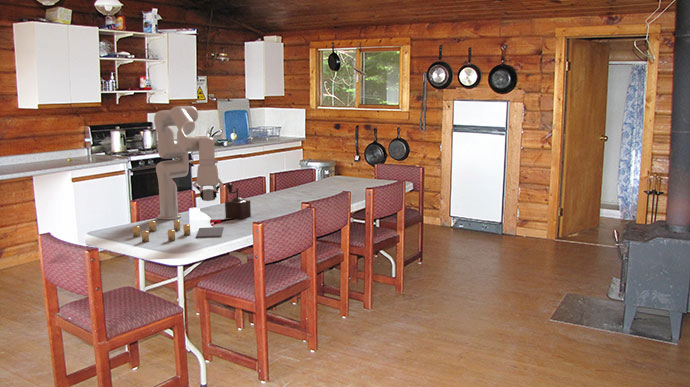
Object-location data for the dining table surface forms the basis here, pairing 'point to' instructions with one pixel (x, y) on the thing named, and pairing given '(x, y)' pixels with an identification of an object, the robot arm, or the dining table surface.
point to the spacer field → (153, 228)
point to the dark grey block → (208, 195)
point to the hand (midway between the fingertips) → (208, 198)
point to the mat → (209, 232)
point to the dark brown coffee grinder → (237, 206)
